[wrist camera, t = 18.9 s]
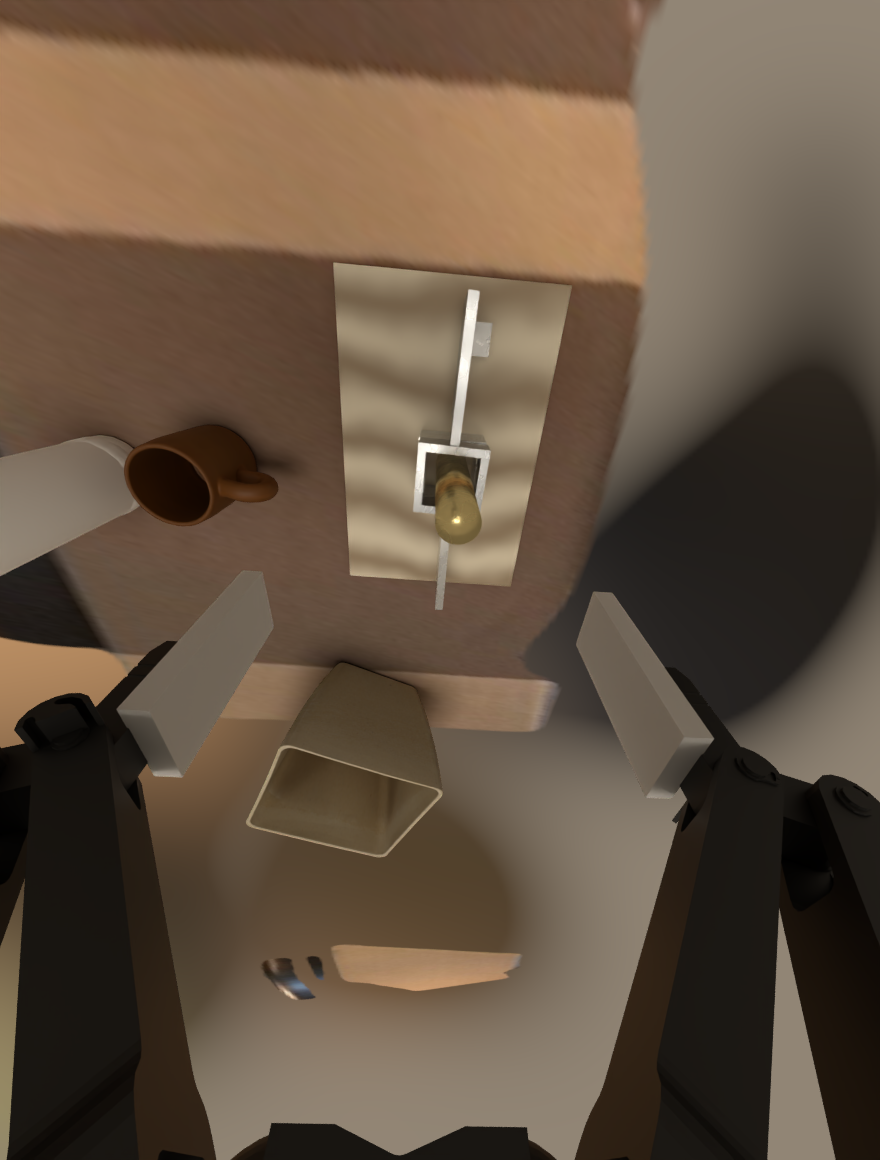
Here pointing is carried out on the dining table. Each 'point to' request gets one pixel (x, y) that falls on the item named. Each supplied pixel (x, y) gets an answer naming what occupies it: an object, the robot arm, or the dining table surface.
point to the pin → (455, 501)
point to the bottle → (60, 495)
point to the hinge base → (482, 350)
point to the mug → (195, 475)
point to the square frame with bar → (456, 418)
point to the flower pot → (352, 766)
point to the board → (439, 410)
